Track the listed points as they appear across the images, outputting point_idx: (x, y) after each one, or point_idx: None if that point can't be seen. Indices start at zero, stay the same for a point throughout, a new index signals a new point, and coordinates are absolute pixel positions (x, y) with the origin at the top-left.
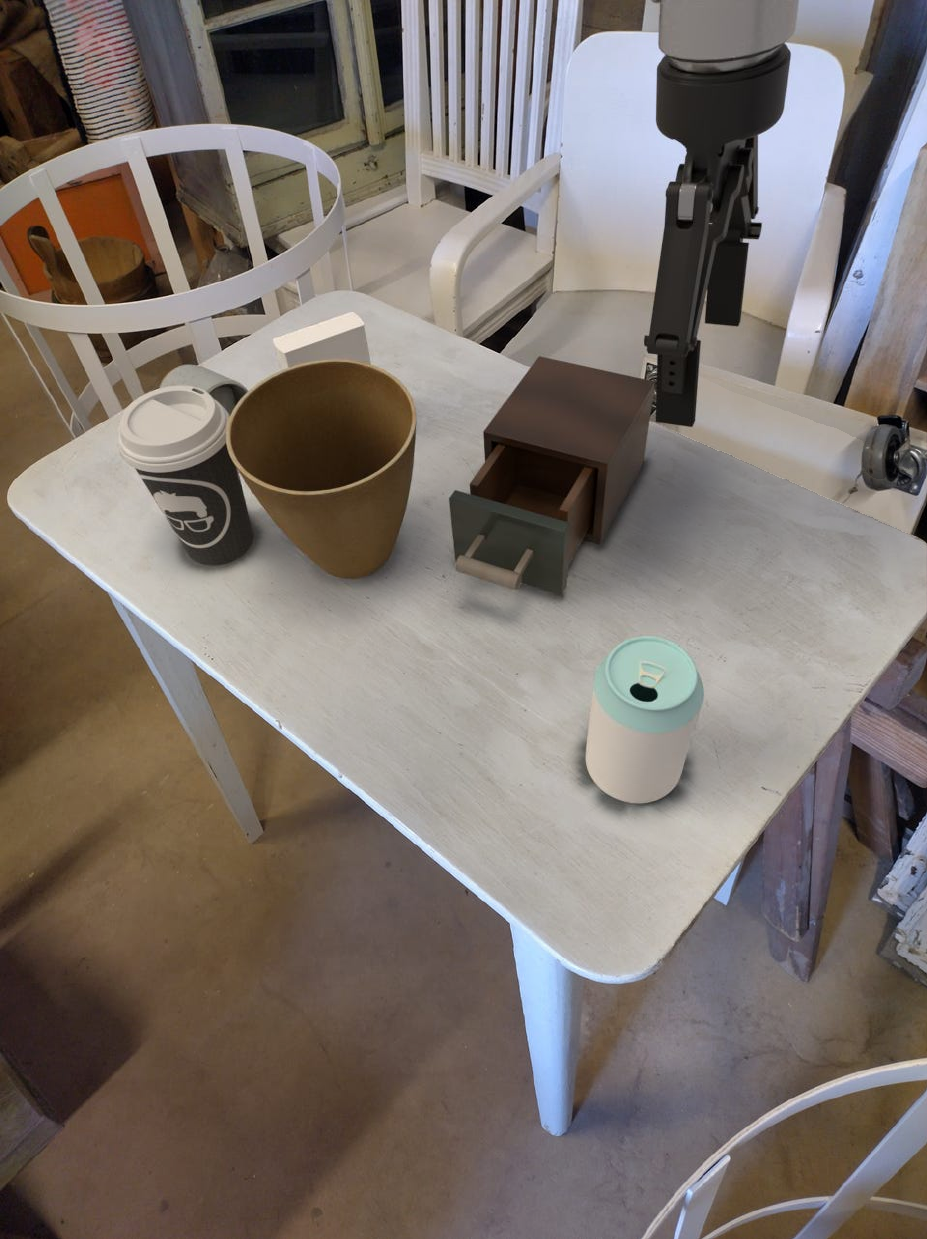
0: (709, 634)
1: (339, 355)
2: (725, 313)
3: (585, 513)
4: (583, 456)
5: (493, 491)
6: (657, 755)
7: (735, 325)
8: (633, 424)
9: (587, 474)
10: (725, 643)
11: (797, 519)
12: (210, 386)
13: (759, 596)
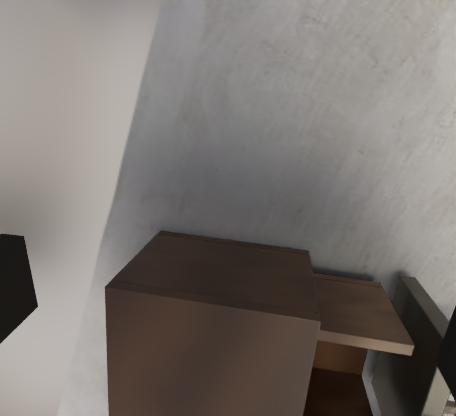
0: (428, 103)
1: None
2: (6, 284)
3: (324, 294)
4: (313, 354)
5: (330, 403)
6: None
7: (23, 243)
8: (203, 294)
9: (327, 333)
10: (440, 81)
11: (197, 30)
12: None
13: (349, 54)
